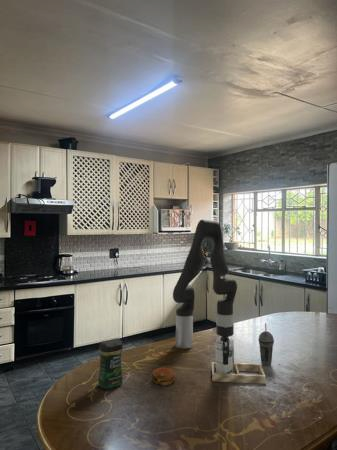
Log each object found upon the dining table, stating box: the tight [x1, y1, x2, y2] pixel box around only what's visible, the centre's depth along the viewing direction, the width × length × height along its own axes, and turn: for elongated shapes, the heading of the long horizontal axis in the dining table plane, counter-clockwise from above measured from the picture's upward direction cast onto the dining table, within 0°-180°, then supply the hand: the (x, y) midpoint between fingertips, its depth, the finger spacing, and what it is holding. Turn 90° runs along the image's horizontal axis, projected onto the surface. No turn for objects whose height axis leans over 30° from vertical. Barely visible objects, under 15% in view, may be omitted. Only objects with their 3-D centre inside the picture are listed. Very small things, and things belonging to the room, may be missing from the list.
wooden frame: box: [211, 361, 267, 384], centre depth 152 cm, size 22×13×3 cm, turn 84°
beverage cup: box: [257, 322, 275, 367], centre depth 164 cm, size 7×7×20 cm
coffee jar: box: [97, 337, 124, 390], centre depth 143 cm, size 10×8×19 cm
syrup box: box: [215, 338, 235, 374], centre depth 153 cm, size 6×6×14 cm
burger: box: [151, 367, 176, 386], centre depth 147 cm, size 10×9×5 cm
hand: (224, 360), depth 152 cm, fingers closed on syrup box, 8 cm apart
